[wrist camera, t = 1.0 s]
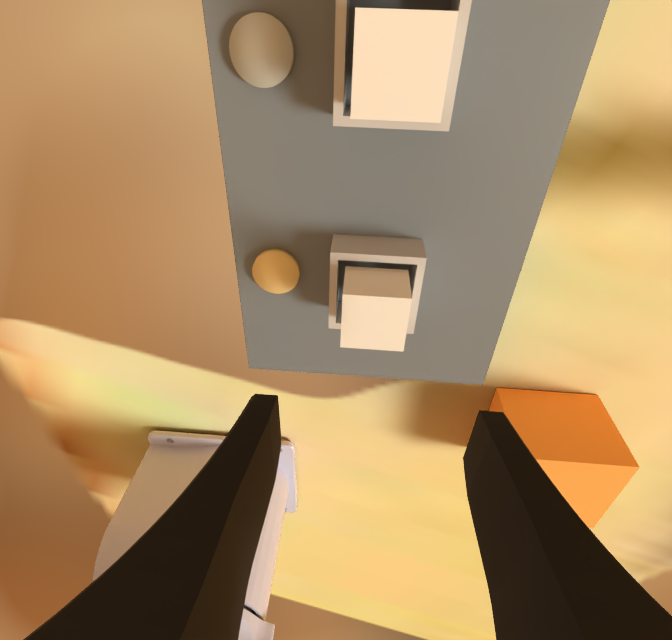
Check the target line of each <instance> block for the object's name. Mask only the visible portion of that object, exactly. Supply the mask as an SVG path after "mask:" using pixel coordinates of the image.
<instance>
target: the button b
mask: <svg viewBox="0 0 672 640" xmlns="http://www.w3.org/2000/svg"><path fill="white" fill-rule="evenodd" d="M458 13H459V11H443V10H414V9H386V8H357V7H355V25H354V47H353V70H352V92H351V114H350V119H364V120H385V121H407V122H429V123H441V117H442V111H443V105H444V99H445V93H446V87H447V80H448V74H449V68H450V62H451V56H452V50H453V44H454V37H455V31H456V25H457V19H458Z"/></svg>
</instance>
